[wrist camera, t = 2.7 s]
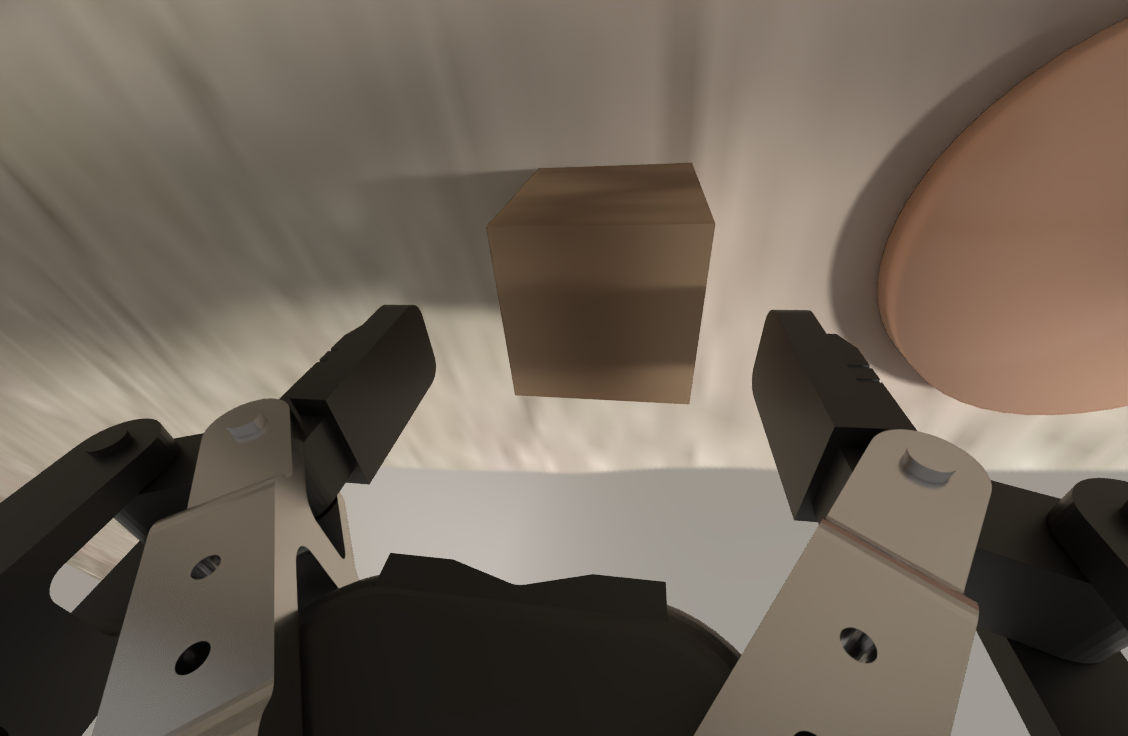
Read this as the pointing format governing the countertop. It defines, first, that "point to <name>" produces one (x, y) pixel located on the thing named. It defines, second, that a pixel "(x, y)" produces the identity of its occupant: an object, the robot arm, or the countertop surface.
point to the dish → (1024, 246)
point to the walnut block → (604, 281)
